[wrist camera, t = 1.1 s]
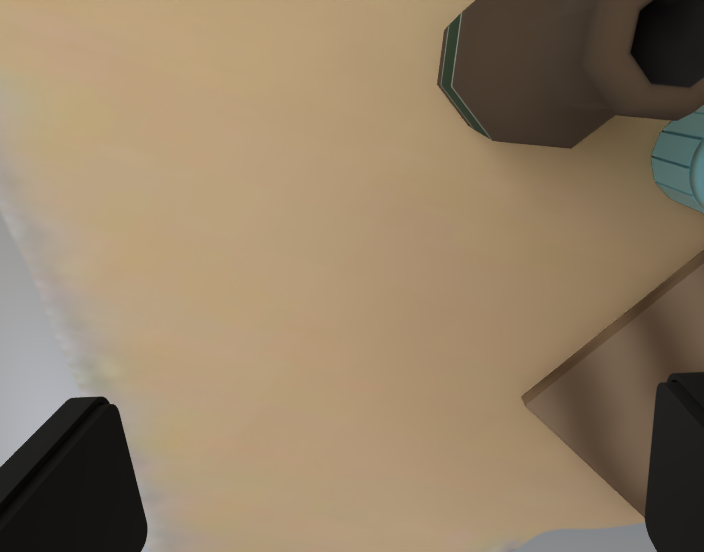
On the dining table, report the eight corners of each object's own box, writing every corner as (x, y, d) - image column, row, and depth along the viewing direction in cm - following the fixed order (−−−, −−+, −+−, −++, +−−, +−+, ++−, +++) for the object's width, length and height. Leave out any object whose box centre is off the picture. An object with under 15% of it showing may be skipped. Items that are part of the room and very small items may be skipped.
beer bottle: (575, 108, 36) (893, 158, 13) (450, 146, 37) (541, 252, 14) (549, -27, 33) (877, -250, 11) (418, 18, 35) (464, -98, 12)
